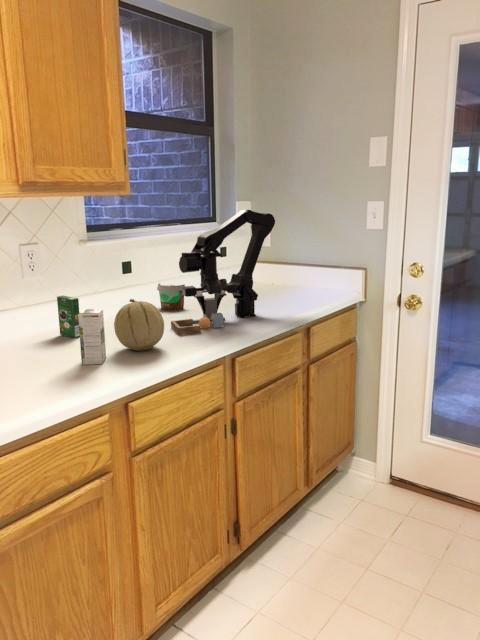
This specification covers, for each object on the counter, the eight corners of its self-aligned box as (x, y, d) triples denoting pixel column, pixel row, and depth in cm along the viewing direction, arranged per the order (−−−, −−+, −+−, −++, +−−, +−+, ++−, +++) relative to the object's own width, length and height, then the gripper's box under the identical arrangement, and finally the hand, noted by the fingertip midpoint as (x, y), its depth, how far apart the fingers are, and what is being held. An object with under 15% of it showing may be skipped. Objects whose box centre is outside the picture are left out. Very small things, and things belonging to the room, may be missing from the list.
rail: (224, 319, 194) (224, 317, 194) (225, 320, 193) (225, 317, 193) (183, 323, 189) (183, 321, 189) (184, 324, 188) (184, 321, 188)
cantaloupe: (150, 358, 149) (147, 306, 146) (105, 354, 154) (101, 303, 151) (174, 344, 163) (172, 296, 159) (132, 341, 168) (129, 294, 164)
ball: (208, 326, 184) (208, 315, 184) (212, 329, 181) (211, 317, 180) (197, 327, 183) (197, 316, 182) (200, 330, 180) (200, 318, 179)
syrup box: (85, 359, 150) (81, 308, 147) (107, 358, 151) (103, 307, 147) (81, 365, 145) (76, 313, 141) (103, 364, 145) (99, 312, 142)
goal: (192, 325, 186) (192, 318, 186) (200, 333, 176) (200, 325, 175) (171, 327, 184) (170, 320, 183) (178, 335, 174) (178, 327, 173)
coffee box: (82, 336, 174) (79, 297, 171) (75, 338, 172) (71, 298, 169) (67, 333, 179) (63, 295, 176) (59, 335, 177) (55, 296, 174)
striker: (214, 319, 194) (213, 297, 192) (224, 326, 183) (224, 303, 181) (203, 320, 193) (202, 298, 191) (213, 327, 181) (212, 304, 180)
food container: (152, 310, 213) (150, 285, 211) (160, 307, 219) (158, 283, 216) (179, 312, 209) (178, 286, 206) (186, 308, 214) (185, 284, 212)
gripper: (188, 274, 177) (190, 320, 181) (241, 271, 183) (242, 315, 187) (180, 270, 187) (182, 314, 191) (231, 267, 193) (232, 309, 197)
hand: (210, 313), depth 191 cm, fingers closed on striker, 4 cm apart
